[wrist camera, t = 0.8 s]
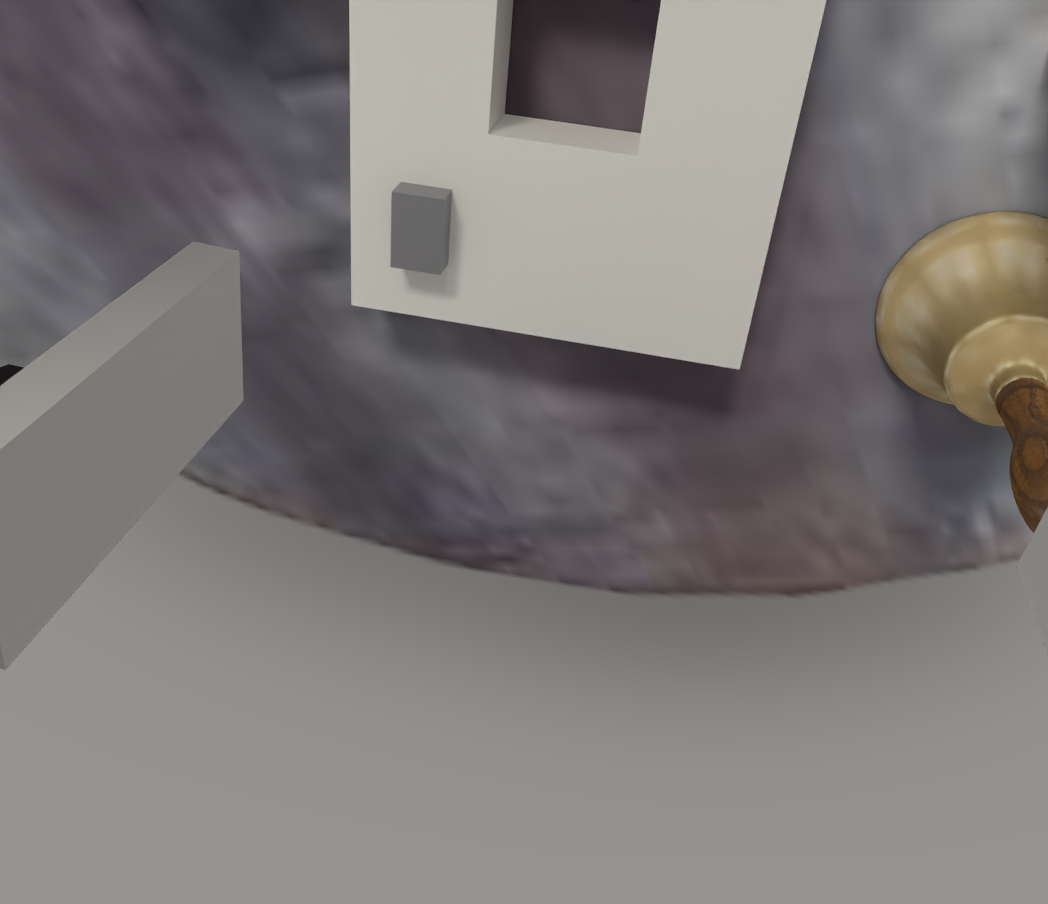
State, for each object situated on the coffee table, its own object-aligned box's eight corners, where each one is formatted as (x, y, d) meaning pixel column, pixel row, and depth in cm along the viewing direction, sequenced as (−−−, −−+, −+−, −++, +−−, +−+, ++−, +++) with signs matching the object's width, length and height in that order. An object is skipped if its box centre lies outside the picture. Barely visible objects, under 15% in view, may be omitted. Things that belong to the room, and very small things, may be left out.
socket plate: (378, -366, 32) (332, -388, 28) (891, -319, 30) (909, -336, 27) (373, 277, 44) (341, 317, 40) (740, 336, 42) (739, 383, 39)
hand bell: (855, 391, 43) (902, 652, 29) (901, 200, 38) (980, 407, 25) (1062, 414, 41) (1208, 697, 28) (1134, 220, 37) (1348, 448, 24)
